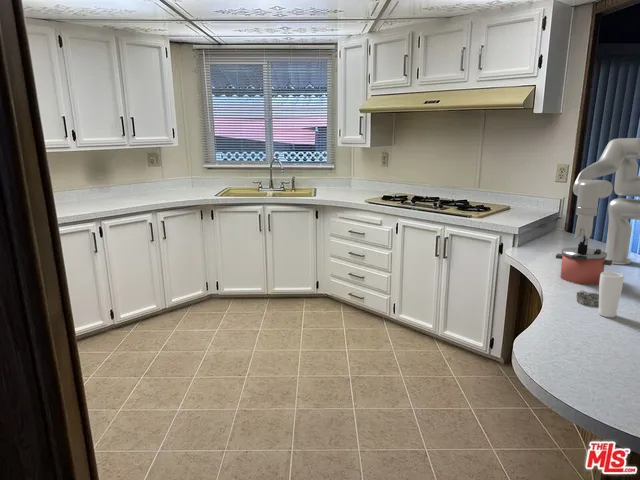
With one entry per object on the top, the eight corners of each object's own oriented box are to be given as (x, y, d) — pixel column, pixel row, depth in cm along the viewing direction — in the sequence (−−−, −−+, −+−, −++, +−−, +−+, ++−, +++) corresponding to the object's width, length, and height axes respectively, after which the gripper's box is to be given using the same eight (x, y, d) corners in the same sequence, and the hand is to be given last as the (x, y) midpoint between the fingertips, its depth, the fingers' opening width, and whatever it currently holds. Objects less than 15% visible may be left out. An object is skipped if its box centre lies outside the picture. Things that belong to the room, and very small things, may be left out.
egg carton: (574, 304, 164) (575, 293, 163) (576, 298, 170) (577, 288, 169) (608, 309, 158) (609, 298, 157) (608, 302, 164) (610, 292, 163)
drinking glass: (622, 319, 148) (627, 277, 145) (600, 318, 150) (605, 277, 146) (613, 311, 155) (618, 271, 152) (592, 311, 156) (597, 271, 153)
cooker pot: (560, 269, 205) (562, 247, 203) (612, 277, 192) (615, 253, 190) (550, 279, 192) (552, 255, 190) (605, 288, 179) (609, 262, 176)
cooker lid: (566, 248, 201) (566, 242, 200) (609, 253, 190) (610, 246, 189) (556, 256, 186) (556, 249, 186) (602, 262, 175) (603, 255, 175)
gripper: (580, 208, 189) (575, 248, 193) (572, 213, 178) (568, 256, 182) (600, 209, 184) (595, 251, 188) (593, 214, 173) (588, 258, 177)
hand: (582, 253), depth 185 cm, fingers closed
